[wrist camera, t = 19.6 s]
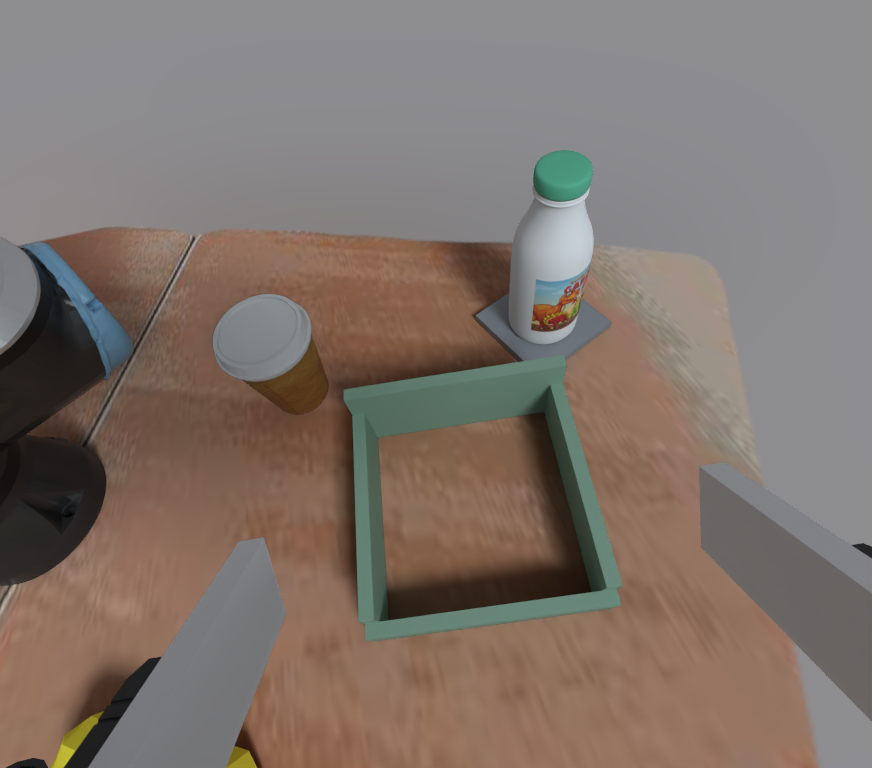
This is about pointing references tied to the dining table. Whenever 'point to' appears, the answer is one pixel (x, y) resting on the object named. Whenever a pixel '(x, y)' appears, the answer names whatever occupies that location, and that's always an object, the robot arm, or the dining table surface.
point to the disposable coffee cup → (272, 351)
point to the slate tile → (583, 333)
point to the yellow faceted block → (238, 764)
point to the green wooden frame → (456, 405)
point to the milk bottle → (552, 250)
